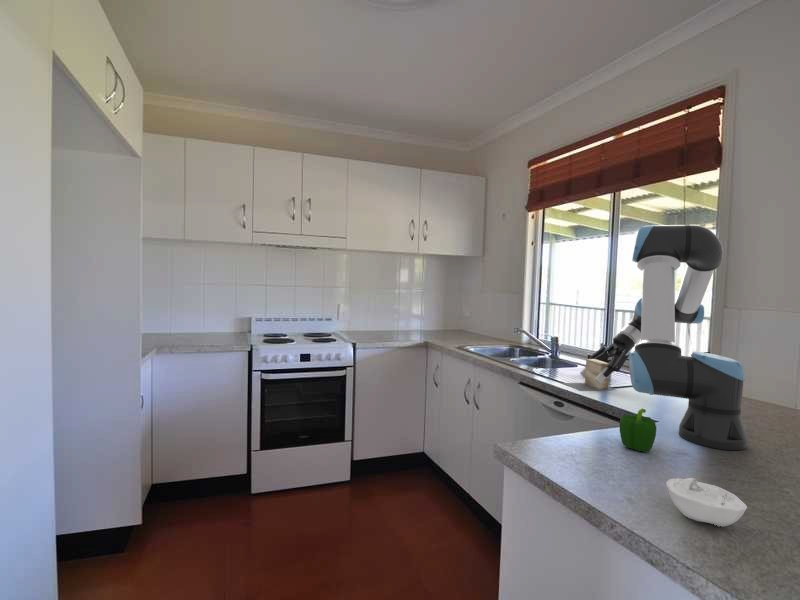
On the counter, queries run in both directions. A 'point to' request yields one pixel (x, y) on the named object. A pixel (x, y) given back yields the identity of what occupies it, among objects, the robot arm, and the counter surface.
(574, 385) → the mat
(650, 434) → the bell pepper
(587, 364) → the birch block
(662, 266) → the robot arm
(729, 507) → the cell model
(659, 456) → the counter surface
